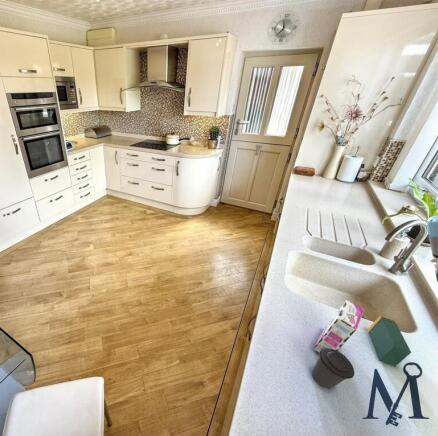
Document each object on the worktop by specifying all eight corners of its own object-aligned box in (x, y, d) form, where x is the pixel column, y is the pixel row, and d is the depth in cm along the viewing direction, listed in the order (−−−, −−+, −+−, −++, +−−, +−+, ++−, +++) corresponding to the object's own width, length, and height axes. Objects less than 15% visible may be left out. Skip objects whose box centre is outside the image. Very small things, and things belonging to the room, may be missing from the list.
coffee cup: (345, 394, 65) (364, 376, 60) (317, 394, 65) (334, 376, 60) (326, 364, 72) (341, 346, 67) (300, 364, 72) (314, 345, 67)
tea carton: (367, 329, 84) (379, 315, 80) (381, 334, 83) (395, 320, 78) (379, 360, 74) (394, 346, 70) (395, 366, 73) (412, 352, 69)
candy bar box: (329, 362, 73) (357, 330, 65) (312, 349, 76) (336, 318, 68) (339, 340, 80) (365, 309, 71) (322, 329, 83) (346, 298, 74)
